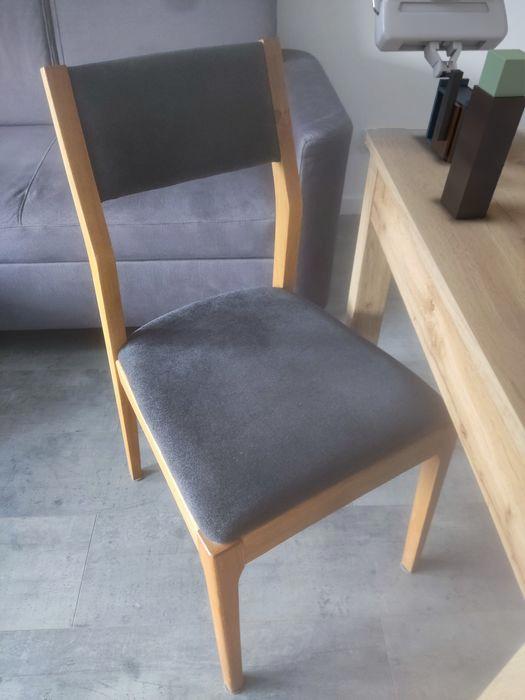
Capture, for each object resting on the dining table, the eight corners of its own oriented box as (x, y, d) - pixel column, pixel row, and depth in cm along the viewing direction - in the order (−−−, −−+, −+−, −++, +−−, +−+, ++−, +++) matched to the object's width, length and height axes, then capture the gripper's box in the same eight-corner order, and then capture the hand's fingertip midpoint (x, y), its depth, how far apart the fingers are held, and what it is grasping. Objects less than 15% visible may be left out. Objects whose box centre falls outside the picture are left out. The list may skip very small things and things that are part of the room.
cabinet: (450, 139, 93) (468, 78, 86) (477, 163, 86) (498, 99, 79) (417, 140, 92) (432, 78, 85) (442, 165, 85) (460, 100, 78)
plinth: (467, 202, 76) (506, 83, 65) (484, 220, 73) (528, 97, 62) (439, 204, 75) (473, 84, 64) (454, 222, 72) (494, 98, 61)
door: (432, 146, 88) (454, 63, 79) (445, 159, 85) (469, 73, 76) (422, 147, 88) (442, 63, 79) (434, 160, 84) (457, 74, 76)
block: (507, 85, 65) (519, 48, 62) (524, 96, 62) (538, 58, 59) (477, 86, 64) (488, 49, 61) (493, 97, 61) (505, 59, 58)
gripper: (378, -31, 75) (389, 65, 75) (508, -29, 78) (519, 63, 78) (363, -1, 81) (372, 88, 81) (484, 0, 85) (493, 85, 85)
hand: (445, 75), depth 80 cm, fingers closed
